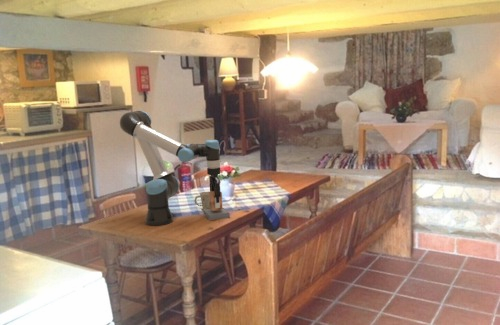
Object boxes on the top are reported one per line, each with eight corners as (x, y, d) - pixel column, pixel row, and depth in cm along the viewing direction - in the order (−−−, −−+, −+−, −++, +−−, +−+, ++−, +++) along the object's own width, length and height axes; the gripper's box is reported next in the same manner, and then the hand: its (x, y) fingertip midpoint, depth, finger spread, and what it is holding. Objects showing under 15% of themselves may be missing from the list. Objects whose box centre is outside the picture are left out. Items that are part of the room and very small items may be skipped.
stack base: (209, 220, 267) (209, 215, 267) (203, 215, 278) (203, 210, 278) (229, 217, 271) (229, 212, 271) (223, 212, 282) (223, 207, 282)
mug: (212, 210, 286) (211, 194, 284) (192, 210, 289) (191, 194, 287) (216, 207, 294) (215, 191, 293) (196, 206, 297) (195, 191, 295)
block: (212, 210, 270) (211, 193, 268) (209, 208, 276) (208, 191, 274) (222, 209, 272) (221, 192, 270) (219, 206, 278) (218, 190, 276)
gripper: (225, 169, 262) (227, 209, 266) (215, 163, 280) (217, 201, 284) (211, 170, 260) (214, 211, 264) (202, 165, 277) (205, 203, 281)
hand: (215, 206), depth 274 cm, fingers closed on block, 6 cm apart
